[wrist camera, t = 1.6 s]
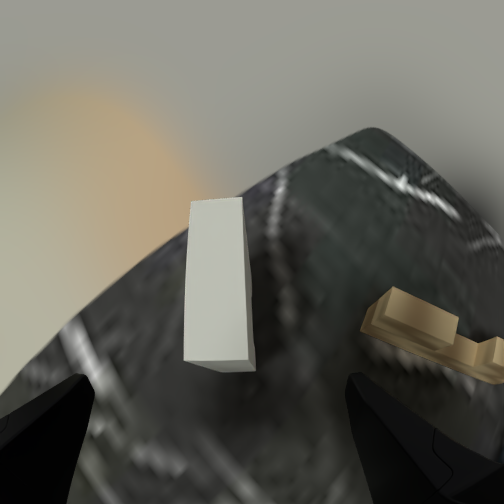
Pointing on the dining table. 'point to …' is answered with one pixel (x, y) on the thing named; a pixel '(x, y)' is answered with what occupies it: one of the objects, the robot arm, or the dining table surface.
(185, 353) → the grey tapered block
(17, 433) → the robot arm
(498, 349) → the notched base plate
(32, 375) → the dining table surface
